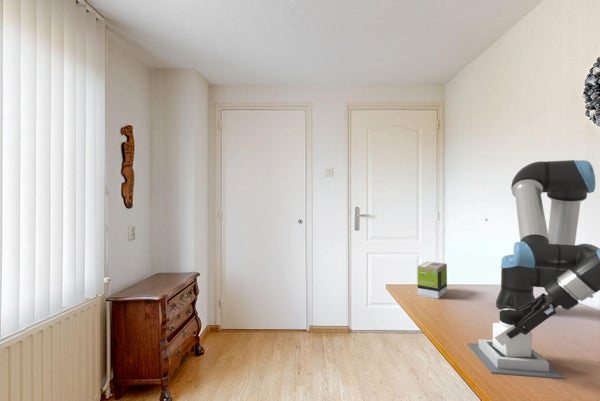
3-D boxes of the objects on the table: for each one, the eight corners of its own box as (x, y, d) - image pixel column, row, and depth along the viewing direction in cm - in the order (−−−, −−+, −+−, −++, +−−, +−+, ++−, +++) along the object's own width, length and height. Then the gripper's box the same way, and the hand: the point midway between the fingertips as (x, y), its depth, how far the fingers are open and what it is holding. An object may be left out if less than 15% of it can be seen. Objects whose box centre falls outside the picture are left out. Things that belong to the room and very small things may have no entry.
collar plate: (527, 350, 105) (527, 339, 105) (565, 381, 87) (565, 367, 87) (467, 346, 107) (467, 335, 107) (491, 375, 89) (491, 362, 89)
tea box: (427, 289, 173) (427, 260, 173) (447, 292, 167) (447, 263, 167) (416, 295, 161) (417, 265, 161) (438, 299, 155) (438, 268, 155)
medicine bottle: (531, 357, 93) (532, 315, 93) (506, 357, 93) (506, 314, 93) (515, 346, 100) (516, 306, 100) (492, 346, 101) (492, 306, 100)
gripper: (588, 314, 79) (509, 361, 88) (573, 292, 98) (509, 333, 107) (560, 288, 82) (486, 337, 91) (551, 272, 101) (490, 313, 109)
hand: (499, 335), depth 99 cm, fingers closed on medicine bottle, 9 cm apart
